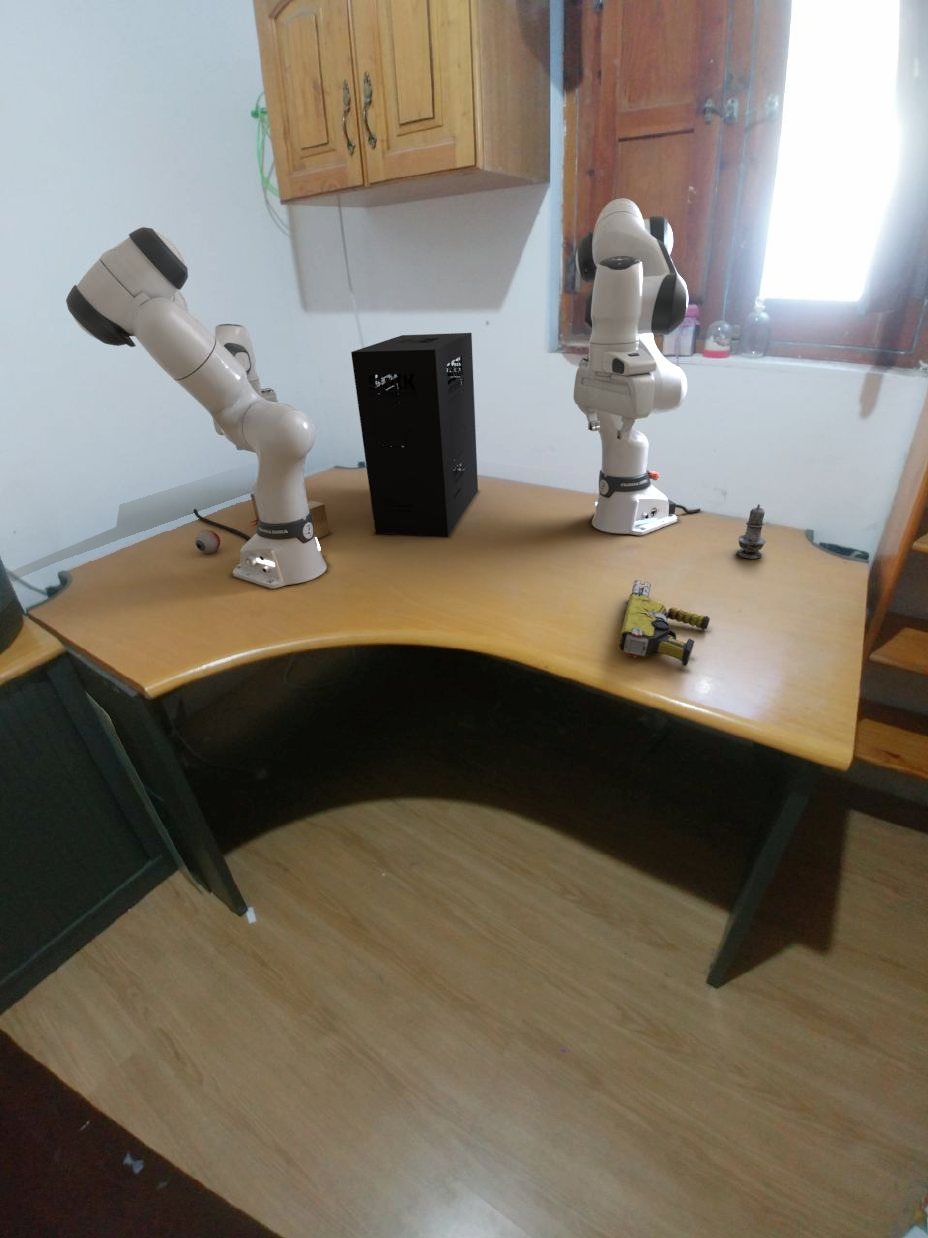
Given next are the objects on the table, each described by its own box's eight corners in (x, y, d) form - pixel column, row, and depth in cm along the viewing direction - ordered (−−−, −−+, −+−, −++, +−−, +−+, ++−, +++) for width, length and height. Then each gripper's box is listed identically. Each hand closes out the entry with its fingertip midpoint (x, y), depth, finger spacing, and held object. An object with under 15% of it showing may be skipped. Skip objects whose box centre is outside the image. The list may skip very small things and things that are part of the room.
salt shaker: (765, 559, 136) (776, 508, 130) (737, 558, 137) (747, 508, 131) (759, 549, 141) (770, 499, 135) (733, 548, 142) (742, 499, 136)
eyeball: (192, 555, 155) (186, 534, 152) (210, 546, 160) (204, 525, 157) (210, 558, 153) (204, 536, 150) (227, 548, 158) (222, 527, 155)
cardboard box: (448, 536, 158) (435, 349, 135) (375, 533, 162) (351, 351, 140) (477, 490, 189) (471, 332, 167) (416, 489, 194) (401, 335, 171)
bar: (329, 533, 164) (324, 503, 160) (313, 540, 160) (307, 510, 156) (273, 516, 179) (267, 488, 174) (256, 522, 175) (250, 493, 171)
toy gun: (711, 591, 118) (634, 577, 122) (713, 651, 98) (620, 632, 102) (705, 612, 120) (629, 597, 124) (706, 675, 100) (615, 655, 104)
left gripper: (266, 386, 167) (275, 436, 174) (203, 397, 152) (216, 452, 159) (282, 387, 164) (291, 438, 171) (220, 399, 149) (232, 455, 156)
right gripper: (567, 355, 119) (564, 427, 125) (634, 365, 102) (627, 447, 109) (593, 352, 121) (590, 423, 128) (663, 362, 104) (655, 442, 111)
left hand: (254, 445), depth 165 cm, fingers open, 8 cm apart
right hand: (607, 434), depth 118 cm, fingers open, 8 cm apart
